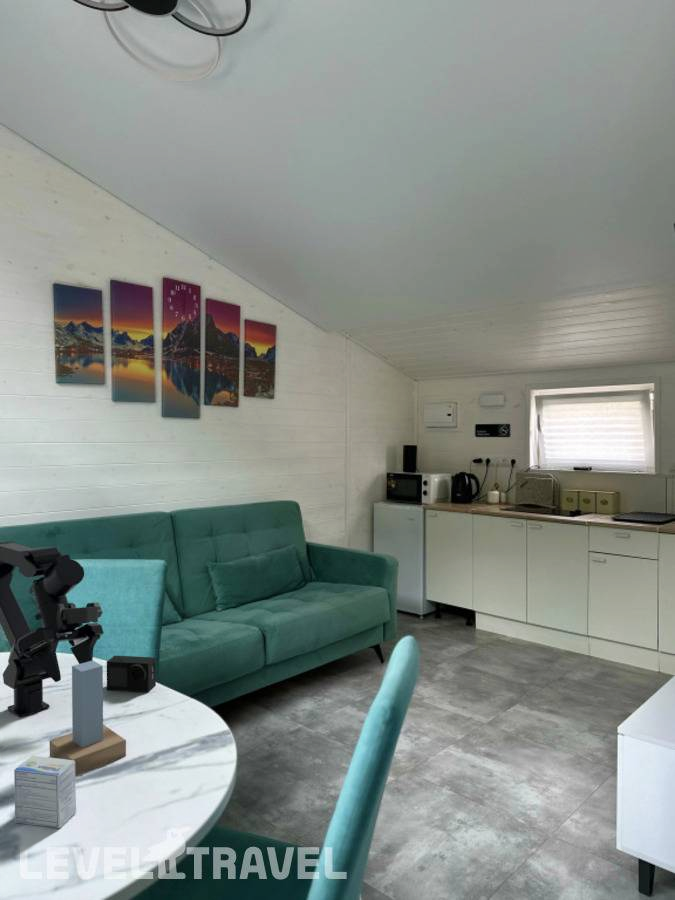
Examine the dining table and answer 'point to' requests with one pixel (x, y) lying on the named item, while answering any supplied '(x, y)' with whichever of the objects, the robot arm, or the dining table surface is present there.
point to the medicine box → (45, 791)
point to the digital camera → (131, 674)
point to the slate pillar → (87, 703)
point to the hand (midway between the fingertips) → (74, 677)
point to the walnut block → (89, 750)
